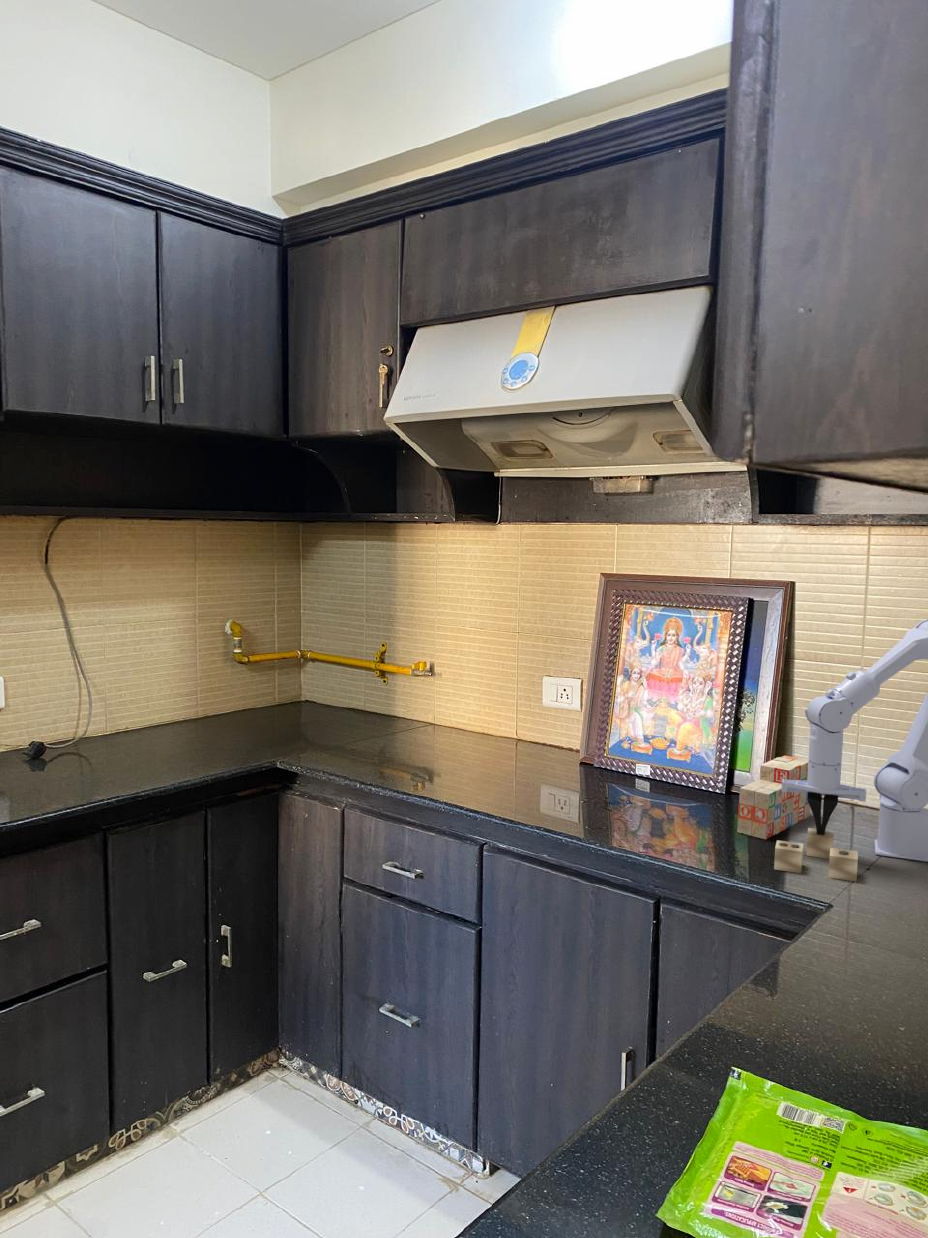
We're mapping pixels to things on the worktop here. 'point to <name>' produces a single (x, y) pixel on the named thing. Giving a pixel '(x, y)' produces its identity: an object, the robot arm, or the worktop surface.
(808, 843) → the plain maple block
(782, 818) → the stack of blocks
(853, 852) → the one-dot maple block
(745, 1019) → the worktop surface
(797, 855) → the two-dot maple block
